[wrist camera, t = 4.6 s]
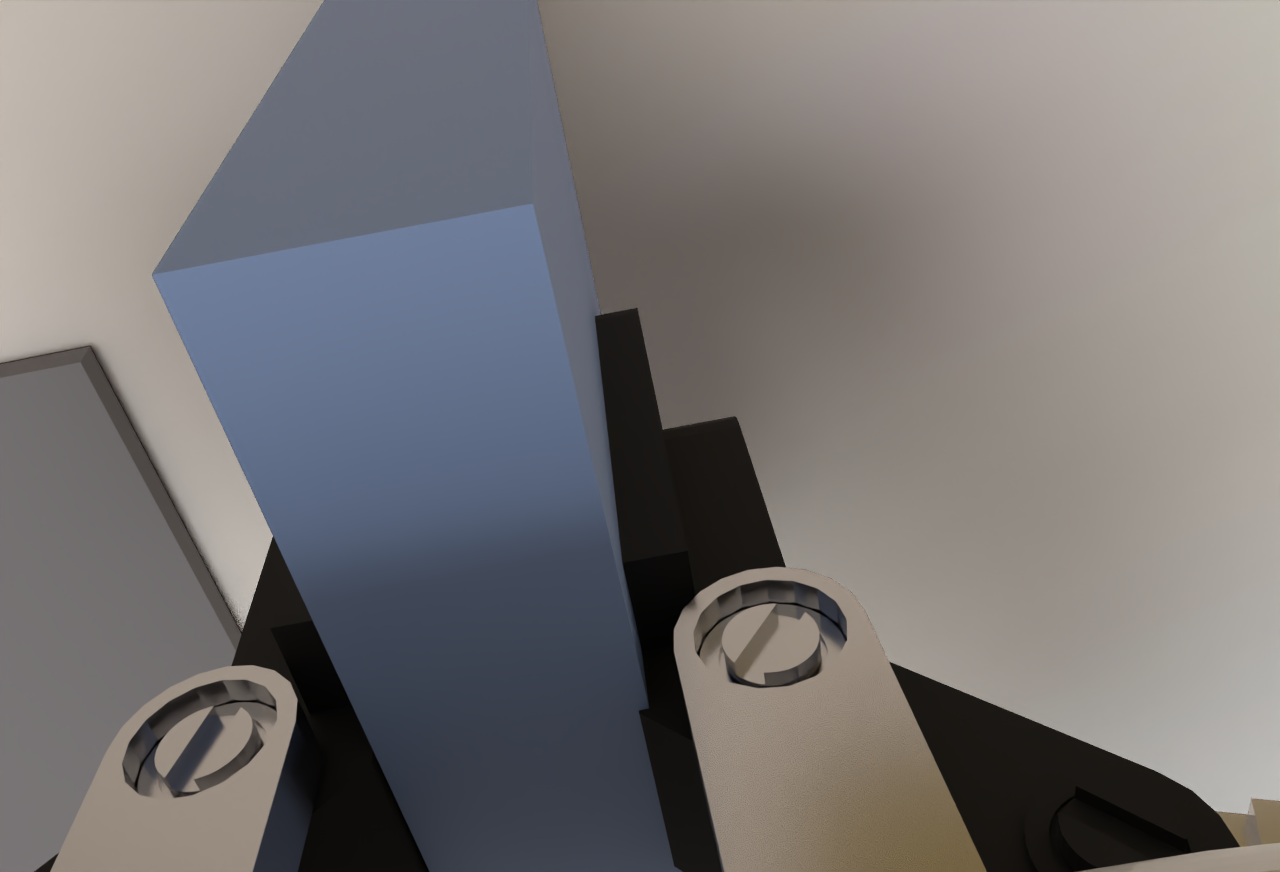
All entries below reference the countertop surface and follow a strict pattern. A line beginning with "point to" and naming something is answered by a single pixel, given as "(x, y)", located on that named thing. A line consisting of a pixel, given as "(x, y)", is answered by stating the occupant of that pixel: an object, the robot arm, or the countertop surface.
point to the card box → (434, 423)
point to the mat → (84, 594)
